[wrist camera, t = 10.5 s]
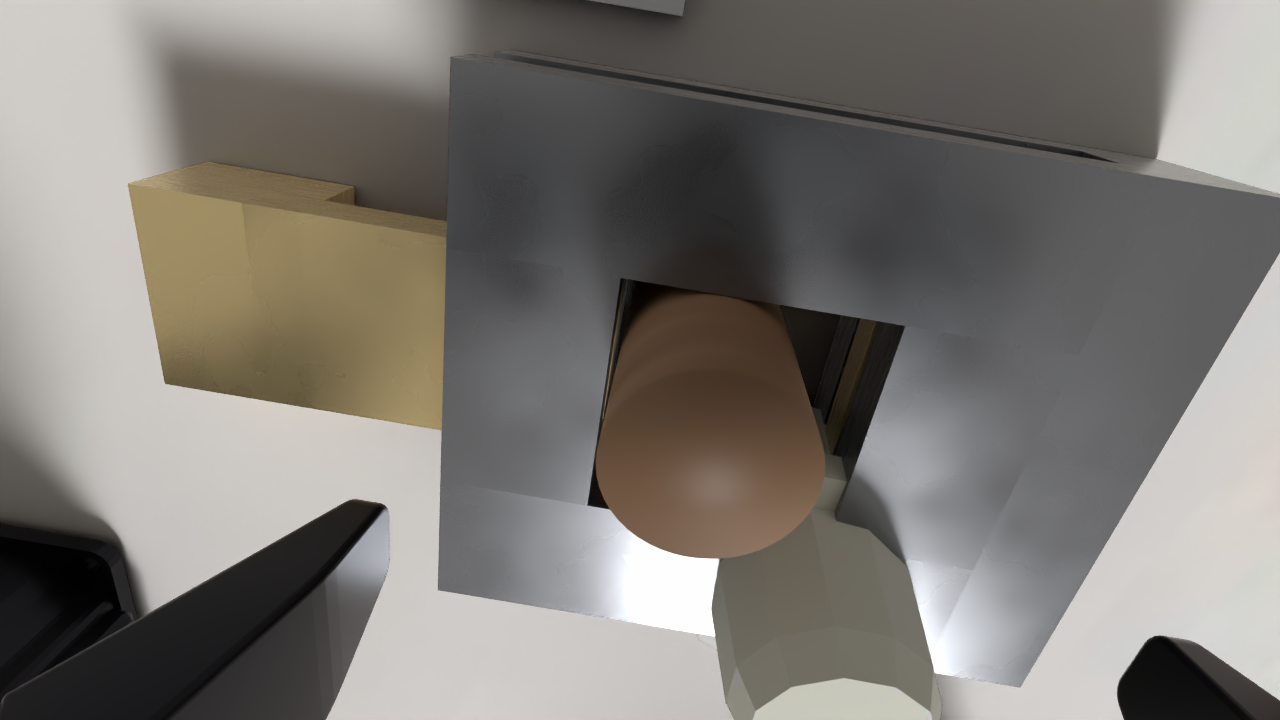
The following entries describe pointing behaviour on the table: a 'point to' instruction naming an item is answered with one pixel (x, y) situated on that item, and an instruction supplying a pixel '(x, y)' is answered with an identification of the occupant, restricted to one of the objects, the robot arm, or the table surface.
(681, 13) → the grey mat
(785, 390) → the walnut peg
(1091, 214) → the grey block with slider
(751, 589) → the white long cylinder
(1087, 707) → the table surface
